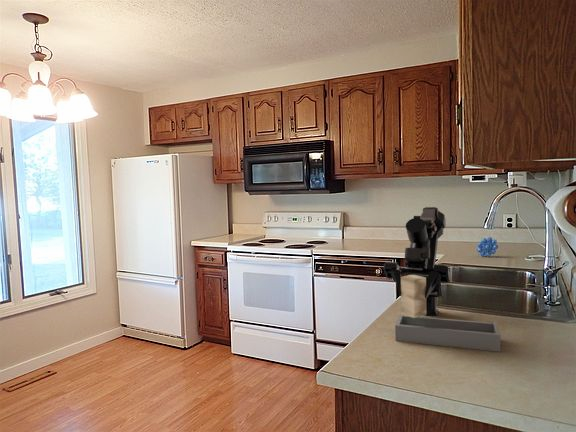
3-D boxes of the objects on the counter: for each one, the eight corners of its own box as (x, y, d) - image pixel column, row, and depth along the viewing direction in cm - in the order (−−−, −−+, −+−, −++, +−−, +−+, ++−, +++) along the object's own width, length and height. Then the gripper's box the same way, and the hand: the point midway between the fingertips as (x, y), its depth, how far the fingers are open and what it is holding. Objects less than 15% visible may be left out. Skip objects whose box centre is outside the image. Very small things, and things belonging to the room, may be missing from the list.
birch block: (413, 310, 125) (413, 274, 124) (426, 314, 121) (426, 277, 120) (401, 313, 123) (400, 276, 122) (414, 317, 118) (413, 280, 117)
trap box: (399, 329, 129) (399, 315, 128) (496, 338, 119) (496, 323, 118) (395, 340, 120) (395, 325, 119) (500, 351, 109) (500, 335, 109)
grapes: (499, 256, 247) (499, 236, 246) (497, 258, 241) (497, 237, 241) (477, 255, 253) (477, 235, 253) (476, 257, 248) (476, 237, 247)
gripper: (384, 236, 128) (375, 279, 119) (448, 237, 119) (444, 284, 110) (390, 256, 135) (382, 298, 126) (451, 259, 127) (447, 305, 118)
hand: (412, 296), depth 120 cm, fingers closed on birch block, 7 cm apart
